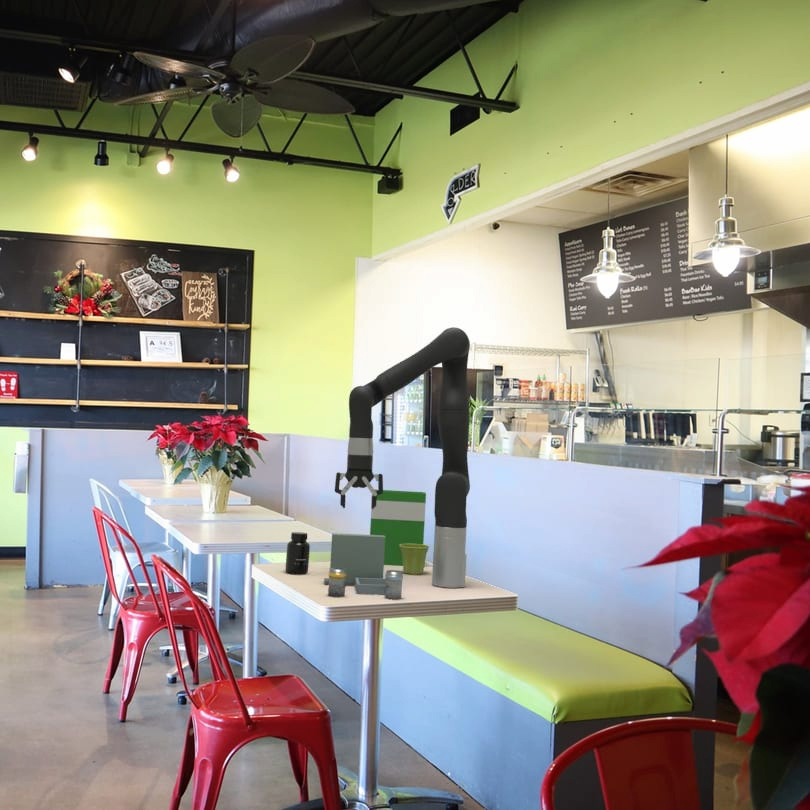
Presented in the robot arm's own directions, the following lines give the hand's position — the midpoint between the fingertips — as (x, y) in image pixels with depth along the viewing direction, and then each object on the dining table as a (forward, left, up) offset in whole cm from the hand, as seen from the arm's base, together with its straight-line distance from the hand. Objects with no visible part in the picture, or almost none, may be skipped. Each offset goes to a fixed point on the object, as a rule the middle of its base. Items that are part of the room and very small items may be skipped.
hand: (358, 508), depth 272 cm
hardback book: (-15, -32, -21) cm, 41 cm away
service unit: (0, +10, -21) cm, 23 cm away
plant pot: (-19, -14, -21) cm, 32 cm away
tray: (-5, +19, -21) cm, 29 cm away
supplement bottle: (+17, -6, -21) cm, 28 cm away
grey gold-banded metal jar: (+6, +28, -21) cm, 35 cm away
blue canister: (-9, +28, -21) cm, 36 cm away
